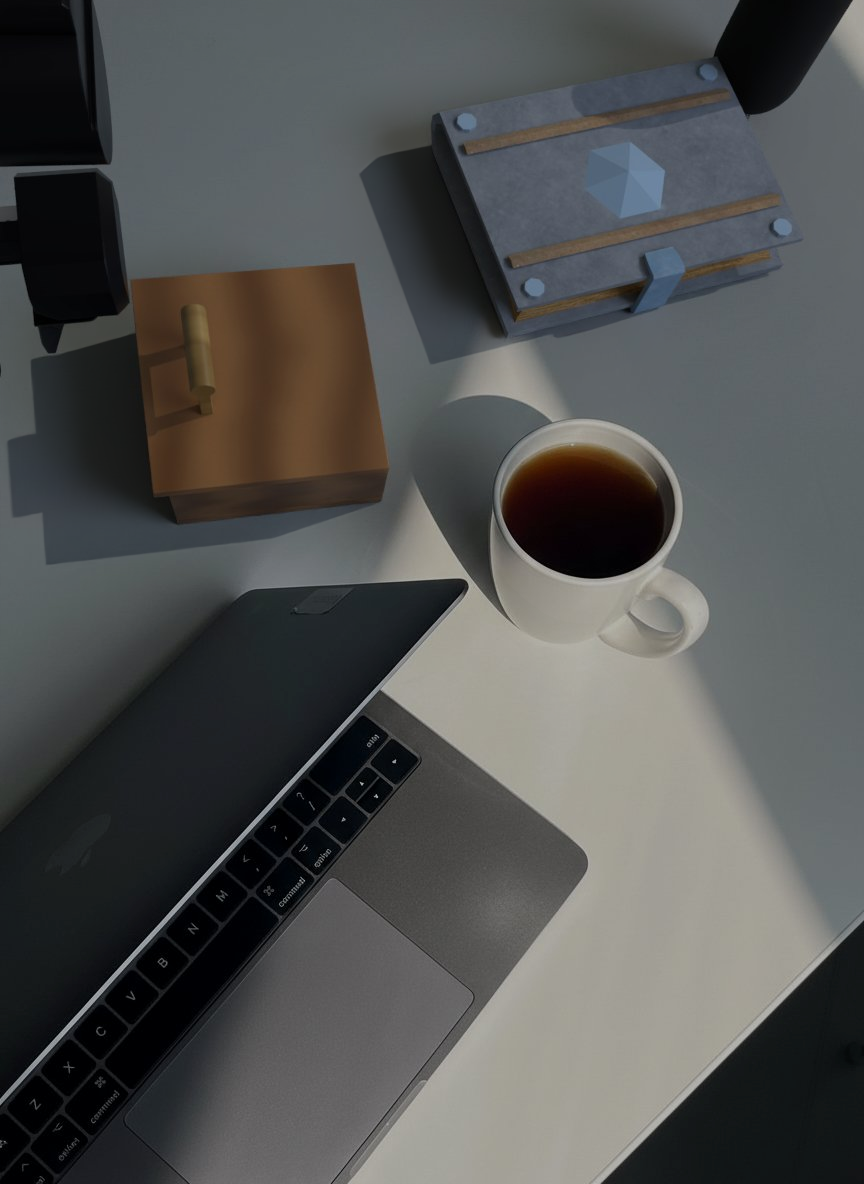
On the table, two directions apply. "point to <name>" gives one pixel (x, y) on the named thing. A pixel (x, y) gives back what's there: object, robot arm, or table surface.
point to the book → (612, 194)
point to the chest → (278, 498)
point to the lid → (256, 379)
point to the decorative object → (774, 47)
